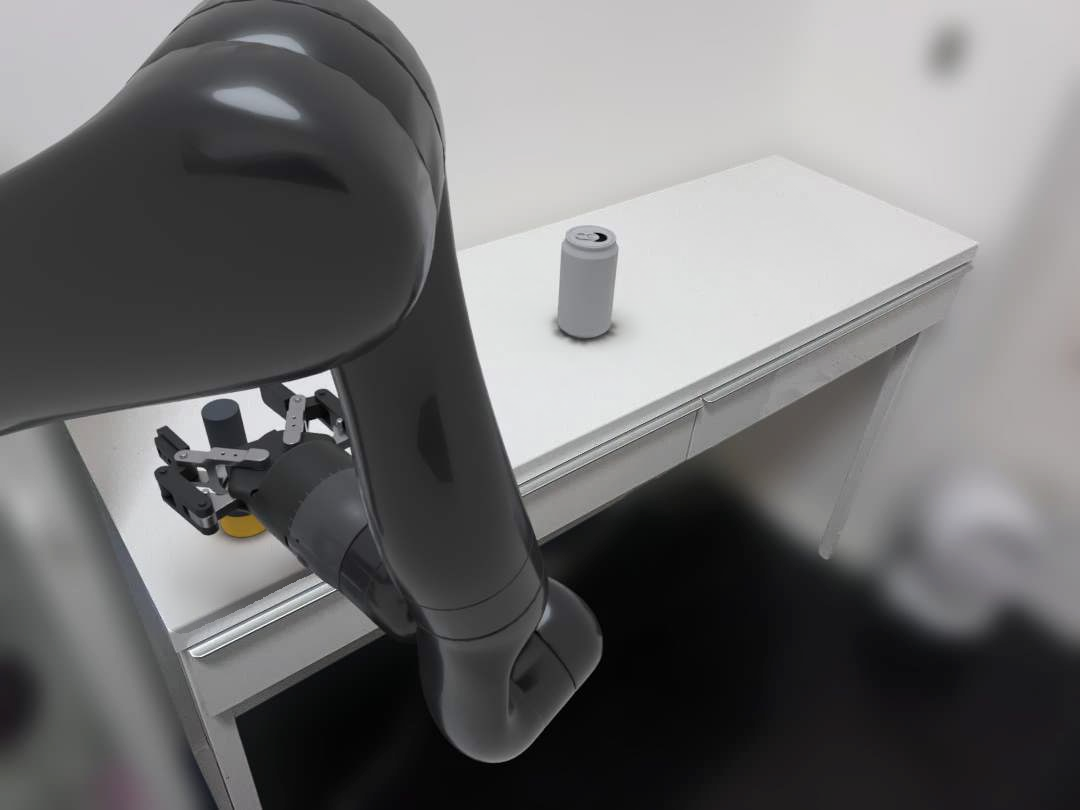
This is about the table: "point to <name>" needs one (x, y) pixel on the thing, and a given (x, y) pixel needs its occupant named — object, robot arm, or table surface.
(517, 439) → the table surface
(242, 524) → the sponge wand
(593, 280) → the beverage can
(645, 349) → the table surface
